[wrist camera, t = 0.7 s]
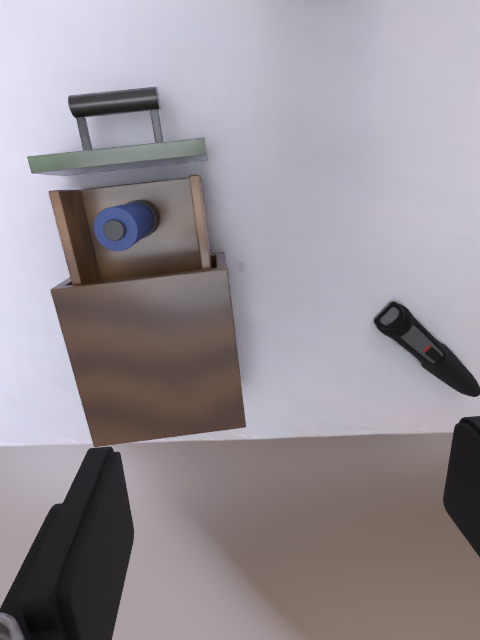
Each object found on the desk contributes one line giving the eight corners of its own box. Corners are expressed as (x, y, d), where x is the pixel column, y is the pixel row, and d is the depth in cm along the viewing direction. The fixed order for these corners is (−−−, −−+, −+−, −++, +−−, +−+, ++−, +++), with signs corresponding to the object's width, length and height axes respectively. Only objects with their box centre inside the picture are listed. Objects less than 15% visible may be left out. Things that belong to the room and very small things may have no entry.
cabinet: (83, 268, 40) (49, 289, 32) (224, 252, 40) (227, 268, 32) (115, 399, 45) (93, 447, 37) (239, 384, 46) (246, 427, 37)
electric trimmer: (451, 394, 49) (467, 407, 46) (369, 322, 44) (381, 331, 41) (474, 373, 48) (492, 385, 45) (393, 297, 44) (407, 305, 41)
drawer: (47, 109, 34) (9, 91, 28) (199, 93, 35) (196, 72, 28) (96, 310, 41) (74, 333, 34) (223, 294, 41) (226, 315, 35)
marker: (122, 201, 36) (83, 207, 25) (156, 197, 36) (133, 202, 25) (129, 237, 37) (94, 257, 26) (162, 233, 37) (142, 252, 26)
